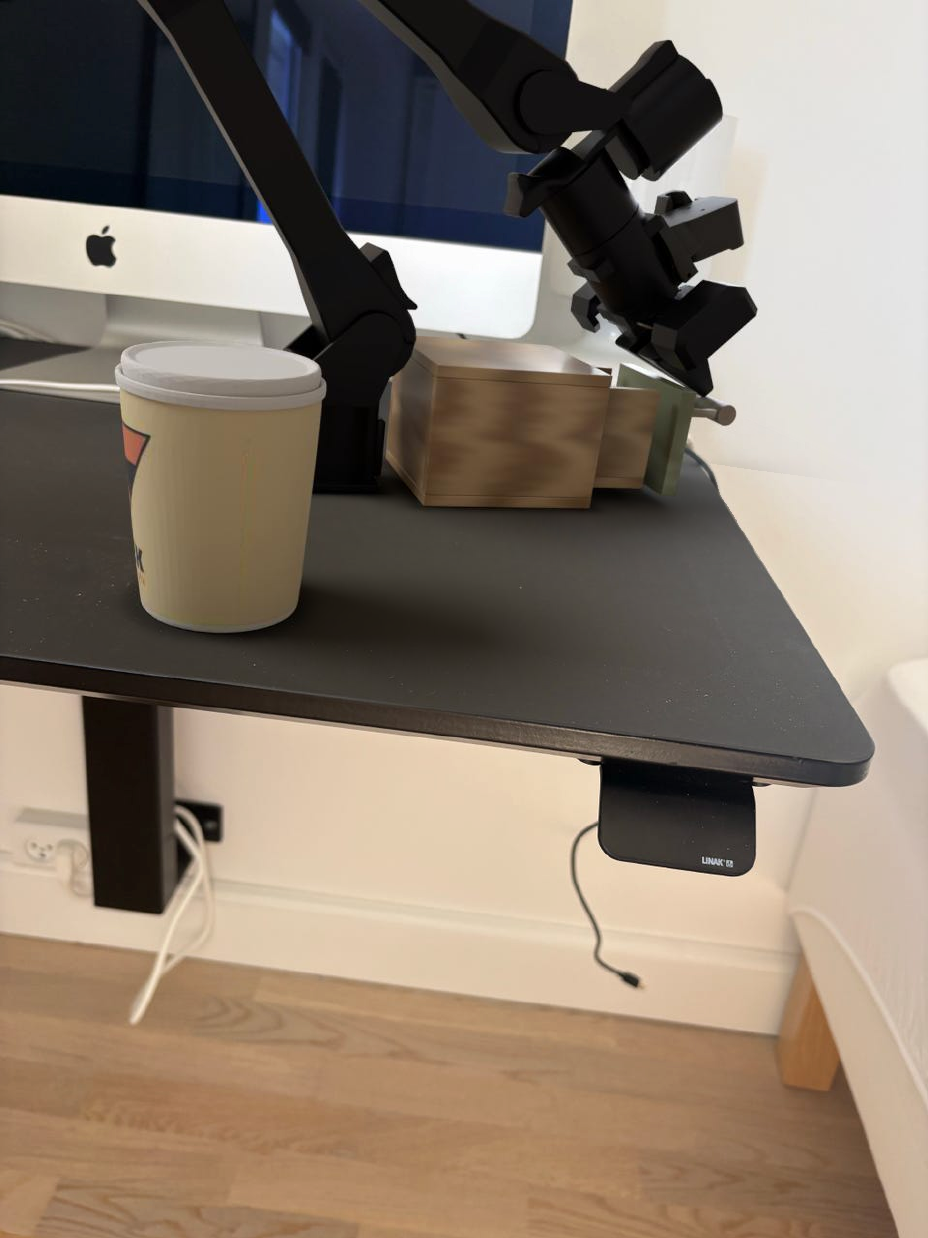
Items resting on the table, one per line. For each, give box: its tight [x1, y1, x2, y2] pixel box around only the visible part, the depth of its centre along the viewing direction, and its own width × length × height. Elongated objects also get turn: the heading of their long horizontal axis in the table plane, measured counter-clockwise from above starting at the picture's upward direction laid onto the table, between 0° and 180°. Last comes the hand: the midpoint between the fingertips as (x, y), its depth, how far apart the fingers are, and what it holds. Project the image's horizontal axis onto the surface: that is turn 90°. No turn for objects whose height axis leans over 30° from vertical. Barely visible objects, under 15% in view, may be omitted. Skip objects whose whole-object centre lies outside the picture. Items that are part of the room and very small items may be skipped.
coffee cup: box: [114, 340, 326, 634], centre depth 46 cm, size 9×9×12 cm
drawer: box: [590, 362, 737, 497], centre depth 75 cm, size 16×10×8 cm, turn 107°
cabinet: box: [385, 335, 613, 509], centre depth 71 cm, size 13×12×10 cm
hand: (706, 392), depth 76 cm, fingers closed
